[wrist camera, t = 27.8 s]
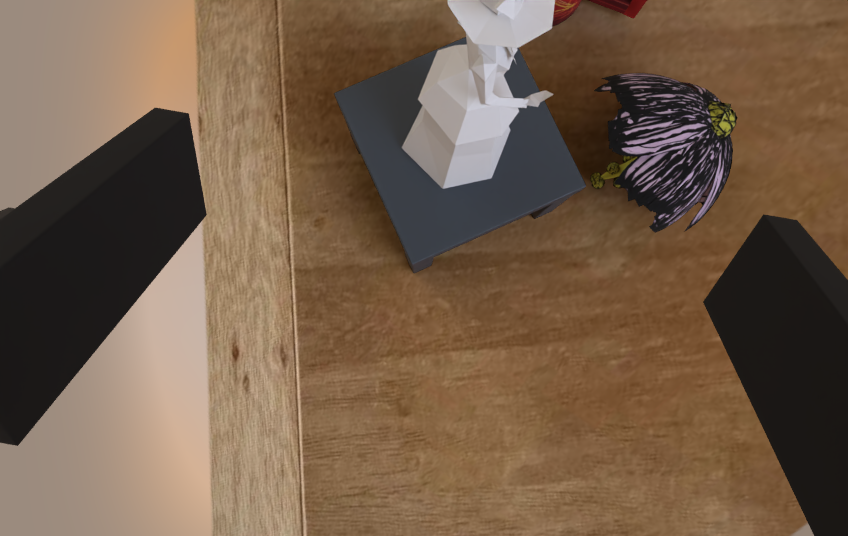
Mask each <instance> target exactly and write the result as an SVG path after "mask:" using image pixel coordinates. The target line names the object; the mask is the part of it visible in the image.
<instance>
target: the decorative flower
mask: <svg viewBox="0 0 848 536" xmlns="http://www.w3.org/2000/svg"><path fill="white" fill-rule="evenodd" d="M602 79H605V80H608V81H609V82H608V83H607V84H604V85H602V86H600V87H599V88H597V89H596V90H594V91H598V92H602V91H610V93H615V94H616V97H617V100H618V102H620V104H621V105H622V109H618V115H617V116H616V117H615V119H614V120H612V121H608V133H609V141H610V145H609V149H613V150H612V151H613V152H615V153H617V154H619V155H623V162H624V163H623V164H621V165H619V164H618V163H617V162H611V163H609V165H608V166H607V172H606V173H604V174H603V175H601V174H600V173H598V172H597V173H593V174H592V175H591V178H590V179H591V182H592V186H593V187H594V188H596V189H599V188H601V187H603V185H604V184H605V181H604V180H606V179H611V178H614V181H613V186H615V187H617V188H622V187H623V188H626V190H627V192H628V201H630V200H633V199H635V200H636V202H637V204H638V206H639V207H640V206H642V205H644V206H645V207H646V208H648V209H649V210H650V211H652V210H653V212H656V216H654V217H655V220H654V222H653V224H652V225H651V226H649V227H650V228H651V229H652V230H653V231H654V232H657V231H660V230H662V229H664V228H666V227H668V226H669V225H671V224H672V223H674V222H675V221H677V220H678V219H679V218H680V217H682V216H683V215H684V214H685V213H687V212H688V211H689V210H690V209H691V208H692V207H693V206H694V205H696V204H697V203H698V202H700V203H702V205H703V206H702V207H701V209H700V210H699V212H698V213H697V214H696V216H695V217H694V218H693V220H692V221H691V223H690V225H689V226H688V227H687V229H689V228H691V227H692V226H693V225H695V224H696V223H697V222H698V221H699V220H700V219H701V218H702V217H703V216H704V215H705V214H706V213H707V212H708V211H709V209H710V208H711V207H712V205H713V204H714V203H715V201H716V200H717V199H718V197H719V195H720V193H721V191H722V190H723V188H724V185H725V183H726V181H727V178H728V176H729V173H730V169H731V164H732V153H733V149H732V141H731V137H730V133H731V132H732V130H733V128H734V127H735V125H736V120H737V116H736V113H735V112H734V111H733V110H732V109H731V107H730V106H731V104H727V103H722V102H721V101H719V99H718V98H717V97H716V96H715V95H714V94H712V93H711V92H710V91H708V90H707V89H704V88H701V87H699V86H697V85H693V84H690V83H683V82H679V81H677V80H675V79H671V78H668V77H665V76H660V75H655V74H646V73H630V74H621V75H614V76H610V77H606V78H602ZM687 229H686V230H687ZM686 230H685V231H686ZM685 231H684V232H685Z"/></svg>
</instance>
